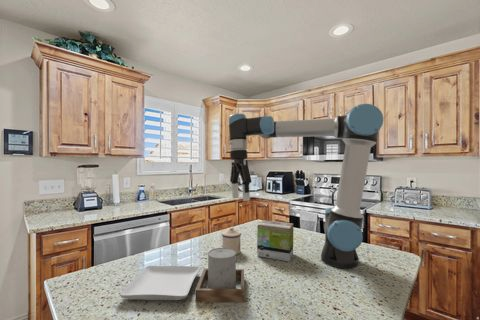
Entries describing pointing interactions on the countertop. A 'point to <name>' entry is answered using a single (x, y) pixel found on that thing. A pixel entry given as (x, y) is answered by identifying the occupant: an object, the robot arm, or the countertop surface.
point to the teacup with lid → (231, 240)
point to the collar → (219, 290)
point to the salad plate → (161, 283)
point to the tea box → (275, 240)
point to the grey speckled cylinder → (222, 268)
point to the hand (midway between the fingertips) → (240, 199)
